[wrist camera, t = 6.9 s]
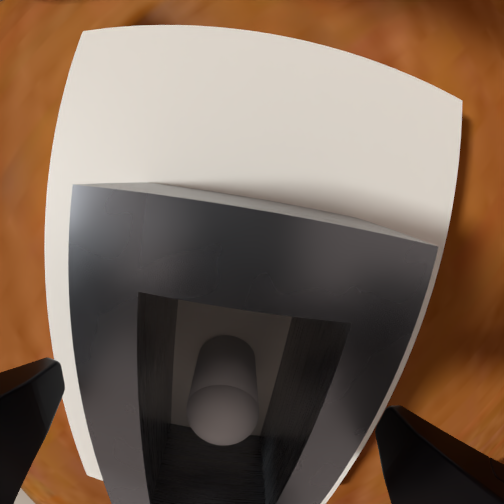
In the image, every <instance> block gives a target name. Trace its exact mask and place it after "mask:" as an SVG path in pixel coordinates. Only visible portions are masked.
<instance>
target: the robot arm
mask: <svg viewBox="0 0 504 504" xmlns="http://www.w3.org/2000/svg"><path fill="white" fill-rule="evenodd" d="M64 391H65V383H64V378H63V373H62V367H61V364H60V363H59V362H58V361H56V360H54V359H51V358H43V359H41V360H38V361H35V362H32V363H29V364H26V365H22V366H19V367H16V368H13V369H10V370H7V371H4V372H1V373H0V504H14V501H15V499H16V496H17V494H18V492H19V490H20V488H21V486H22V483H23V481H24V479H25V477H26V475H27V473H28V471H29V469H30V467H31V465H32V463H33V461H34V459H35V457H36V455H37V453H38V451H39V449H40V447H41V445H42V443H43V441H44V439H45V437H46V435H47V433H48V431H49V428H50V426H51V423H52V421H53V418H54V416H55V413H56V411H57V408H58V406H59V403H60V401H61V399H62V396H63V394H64ZM375 432H376V439H377V444H378V449H379V455H380V460H381V466H382V471H383V475H384V479H385V483H386V486H387V490H388V493H389V496H390V500H391V503H392V504H504V464H502V463H500V462H498V461H496V460H494V459H492V458H489V457H488V456H487V455H485V454H483V453H481V452H479V451H477V450H476V449H474V448H472V447H470V446H468V445H467V444H465V443H463V442H461V441H460V440H458V439H456V438H454V437H453V436H451V435H449V434H448V433H446V432H444V431H442V430H441V429H439V428H437V427H436V426H434V425H432V424H431V423H429V422H427V421H426V420H424V419H422V418H421V417H419V416H417V415H416V414H414V413H412V412H411V411H409V410H407V409H406V408H404V407H403V406H400V405H397V406H389V407H387V408H386V409H385V411H384V413H383V415H382V417H381V419H380V421H379V422H378V424H377V426H376V431H375Z"/></svg>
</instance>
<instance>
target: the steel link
mask: <svg viewBox="0 0 504 504" xmlns="http://www.w3.org/2000/svg"><path fill="white" fill-rule="evenodd" d="M438 248H439V247H438V246H436V245H433V244H430V243H428V242H425V241H422V240H420V239H417V238H414V237H411V236H409V235H406V234H403V233H400V232H397V231H394V230H392V229H389V228H386V227H383V226H380V225H377V224H374V223H371V222H368V221H365V220H362V219H359V218H355V217H351V216H346V215H341V214H336V213H331V212H327V211H322V210H317V209H312V208H306V207H301V206H296V205H291V204H285V203H280V202H274V201H269V200H263V199H257V198H251V197H245V196H239V195H233V194H227V193H220V192H214V191H207V190H200V189H193V188H186V187H179V186H172V185H164V184H156V183H148V182H137V183H96V184H74V185H73V187H72V196H71V208H70V223H69V249H68V279H69V305H70V319H71V331H72V341H73V350H74V357H75V365H76V371H77V378H78V383H79V389H80V394H81V400H82V405H83V409H84V414H85V418H86V423H87V427H88V431H89V435H90V439H91V442H92V446H93V449H94V453H95V456H96V460H97V463H98V466H99V469H100V472H101V475H102V478H103V481H104V484H105V487H106V490H107V492H108V495H109V498H110V500H111V503H112V504H321V503H322V501H323V500H324V498H325V497H326V496H327V494H328V493H329V492H330V490H331V489H332V487H333V486H334V484H335V483H336V481H337V480H338V478H339V477H340V475H341V474H342V472H343V471H344V469H345V468H346V466H347V465H348V463H349V461H350V460H351V458H352V457H353V455H354V453H355V452H356V450H357V448H358V447H359V445H360V443H361V442H362V440H363V438H364V436H365V435H366V433H367V431H368V429H369V427H370V426H371V424H372V422H373V420H374V418H375V416H376V414H377V412H378V410H379V408H380V406H381V404H382V402H383V400H384V398H385V396H386V394H387V392H388V390H389V388H390V386H391V384H392V381H393V379H394V377H395V375H396V372H397V370H398V368H399V366H400V363H401V361H402V358H403V356H404V354H405V351H406V349H407V346H408V343H409V341H410V338H411V336H412V333H413V330H414V328H415V325H416V322H417V319H418V316H419V313H420V310H421V307H422V304H423V301H424V298H425V295H426V292H427V288H428V285H429V282H430V278H431V275H432V271H433V267H434V264H435V260H436V256H437V252H438ZM178 299H179V300H184V301H190V302H196V303H202V304H208V305H214V306H220V307H226V308H233V309H240V310H246V311H253V312H260V313H268V314H275V315H283V316H291V317H292V319H291V323H290V327H289V331H288V335H287V339H286V343H285V347H284V351H283V355H282V359H281V363H280V366H279V370H278V374H277V378H276V381H275V385H274V389H273V392H272V396H271V399H270V403H269V406H268V410H267V413H266V417H265V420H264V423H263V427H262V430H261V434H260V436H257V435H249V436H248V437H247V438H246V439H244V440H243V441H241V442H238V443H236V444H232V445H215V444H211V443H209V442H206V441H204V440H203V439H201V438H200V437H199V436H198V435H196V433H195V432H194V431H193V430H192V428H191V427H186V426H181V425H176V424H171V406H172V381H173V362H174V346H175V332H176V320H177V308H178Z"/></svg>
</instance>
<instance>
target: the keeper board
mask: <svg viewBox="0 0 504 504" xmlns="http://www.w3.org/2000/svg"><path fill="white" fill-rule="evenodd" d="M461 127H462V100H460V99H458V98H456V97H455V96H453V95H451V94H449V93H447V92H445V91H443V90H441V89H439V88H437V87H435V86H433V85H431V84H429V83H427V82H424V81H422V80H420V79H418V78H416V77H413V76H411V75H409V74H406V73H404V72H401V71H399V70H397V69H394V68H391V67H389V66H386V65H384V64H381V63H378V62H375V61H373V60H370V59H367V58H364V57H361V56H358V55H355V54H352V53H348V52H345V51H342V50H338V49H335V48H331V47H328V46H324V45H320V44H316V43H312V42H308V41H304V40H299V39H294V38H290V37H285V36H279V35H274V34H268V33H262V32H255V31H248V30H240V29H232V28H221V27H209V26H190V25H145V26H127V27H114V28H105V29H96V30H89V31H83V33H82V35H81V38H80V41H79V44H78V46H77V49H76V52H75V55H74V58H73V62H72V65H71V68H70V71H69V75H68V78H67V82H66V86H65V89H64V93H63V97H62V102H61V106H60V110H59V115H58V120H57V125H56V130H55V135H54V141H53V147H52V154H51V161H50V168H49V177H48V187H47V199H46V214H45V281H46V296H47V308H48V318H49V327H50V334H51V341H52V348H53V354H54V360H56V361H58V362H59V363H60V364H61V367H62V373H63V378H64V383H65V391H64V394H63V396H62V398H63V402H64V406H65V410H66V413H67V417H68V420H69V424H70V427H71V431H72V434H73V437H74V440H75V443H76V446H77V449H78V452H79V455H80V458H81V460H82V463H83V466H84V468H85V471H86V473H87V475H88V476H91V477H93V478H96V479H99V480H102V481H103V478H102V475H101V472H100V469H99V466H98V463H97V460H96V456H95V453H94V449H93V446H92V442H91V439H90V435H89V431H88V427H87V423H86V418H85V414H84V409H83V405H82V400H81V394H80V389H79V383H78V378H77V371H76V365H75V357H74V350H73V341H72V331H71V319H70V305H69V279H68V249H69V223H70V208H71V196H72V187H73V185H74V184H96V183H137V182H148V183H156V184H164V185H172V186H179V187H186V188H193V189H200V190H207V191H214V192H220V193H227V194H233V195H239V196H245V197H251V198H257V199H263V200H269V201H274V202H280V203H285V204H291V205H296V206H301V207H306V208H312V209H317V210H322V211H327V212H331V213H336V214H341V215H346V216H351V217H355V218H359V219H362V220H365V221H368V222H371V223H374V224H377V225H380V226H383V227H386V228H389V229H392V230H394V231H397V232H400V233H403V234H406V235H409V236H411V237H414V238H417V239H420V240H422V241H425V242H428V243H430V244H433V245H436V246H438V247H439V248H438V252H437V256H436V260H435V264H434V267H433V271H432V275H431V278H430V282H429V285H428V288H427V292H426V295H425V298H424V301H423V304H422V307H421V310H420V313H419V316H418V319H417V322H416V325H415V328H414V330H413V333H412V336H411V338H410V341H409V343H408V346H407V349H406V351H405V354H404V356H403V358H402V361H401V363H400V366H399V368H398V370H397V372H396V375H395V377H394V379H393V381H392V384H391V386H390V388H389V390H388V392H387V394H386V396H385V398H384V400H383V402H382V404H381V406H380V408H379V410H378V412H377V414H376V416H375V418H374V420H373V422H372V424H371V426H370V427H369V429H368V431H367V433H366V435H365V436H364V438H363V440H362V442H361V443H360V445H359V447H358V448H357V450H356V452H355V453H354V455H353V457H352V458H351V460H350V461H349V463H348V465H347V466H346V468H345V469H344V471H343V472H342V474H341V475H340V477H339V478H338V480H337V481H336V483H335V484H334V486H333V487H332V489H331V490H330V492H329V493H328V494H327V496H326V497H325V498H324V500H323V501H322V503H321V504H326V502H327V501H328V500H329V498H330V497H331V496H332V494H333V493H334V492H335V490H336V489H337V487H338V486H339V484H340V483H341V482H342V480H343V479H344V477H345V476H346V474H347V473H348V471H349V470H350V468H351V467H352V465H353V463H354V462H355V460H356V459H357V457H358V456H359V454H360V452H361V451H362V449H363V447H364V446H365V444H366V442H367V441H368V439H369V437H370V435H371V434H372V432H373V430H374V428H375V426H376V425H377V423H378V421H379V419H380V417H381V415H382V413H383V411H384V409H385V408H386V406H387V404H388V402H389V400H390V398H391V395H392V393H393V391H394V389H395V387H396V385H397V383H398V381H399V378H400V376H401V374H402V372H403V369H404V367H405V365H406V362H407V360H408V358H409V355H410V353H411V350H412V348H413V345H414V343H415V340H416V338H417V335H418V332H419V330H420V327H421V324H422V321H423V318H424V315H425V313H426V310H427V307H428V303H429V300H430V297H431V294H432V291H433V287H434V284H435V281H436V277H437V273H438V270H439V266H440V262H441V258H442V254H443V250H444V246H445V242H446V237H447V233H448V228H449V223H450V218H451V212H452V207H453V201H454V195H455V188H456V181H457V173H458V164H459V155H460V143H461ZM291 319H292V317H291V316H283V315H275V314H268V313H260V312H253V311H246V310H240V309H233V308H226V307H220V306H214V305H208V304H202V303H196V302H190V301H184V300H179V299H178V308H177V320H176V332H175V346H174V362H173V381H172V406H171V424H176V425H181V426H186V427H191V428H192V430H193V431H194V432H195V433H196V435H198V436H199V437H200V438H201V439H203V440H204V441H206V442H209V443H211V444H215V445H232V444H236V443H238V442H241V441H243V440H244V439H246V438H247V437H248V436H249V435H257V436H260V434H261V430H262V427H263V423H264V420H265V417H266V413H267V410H268V406H269V403H270V399H271V396H272V392H273V389H274V385H275V381H276V378H277V374H278V370H279V366H280V363H281V359H282V355H283V351H284V347H285V343H286V339H287V335H288V331H289V327H290V323H291Z"/></svg>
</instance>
